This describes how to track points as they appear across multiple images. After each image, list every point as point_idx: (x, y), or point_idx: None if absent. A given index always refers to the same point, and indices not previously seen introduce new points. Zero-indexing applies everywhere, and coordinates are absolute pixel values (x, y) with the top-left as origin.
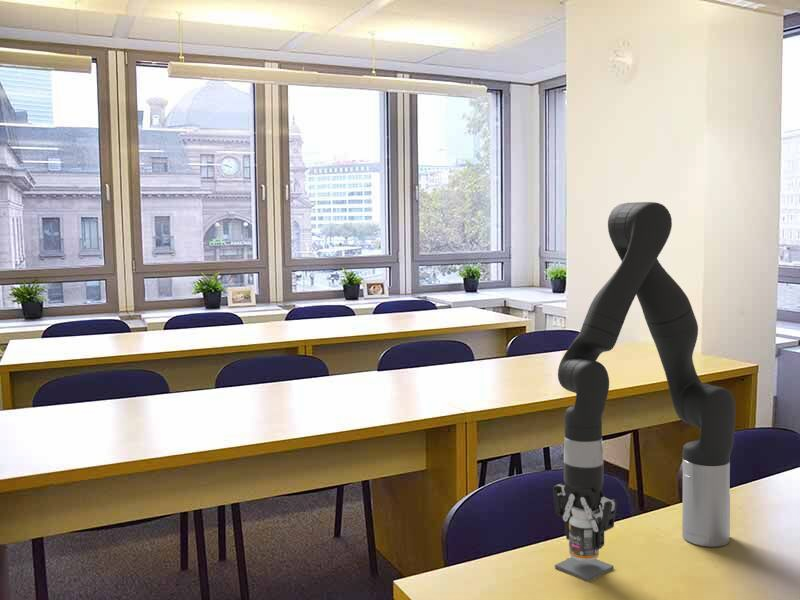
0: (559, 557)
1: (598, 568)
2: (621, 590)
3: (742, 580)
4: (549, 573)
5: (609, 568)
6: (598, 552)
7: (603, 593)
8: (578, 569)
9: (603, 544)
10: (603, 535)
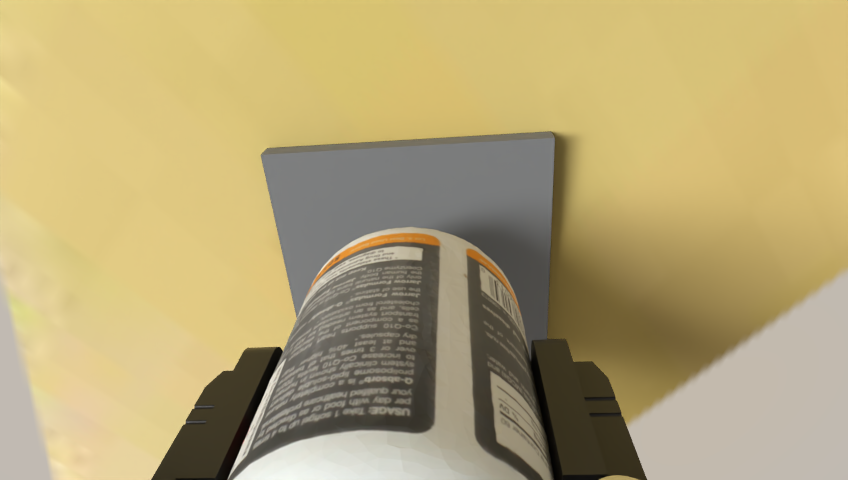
0: (216, 258)
1: (505, 243)
2: (735, 314)
3: None
4: None
5: (552, 184)
6: (511, 294)
7: (671, 394)
8: None
9: (603, 381)
10: (631, 454)
